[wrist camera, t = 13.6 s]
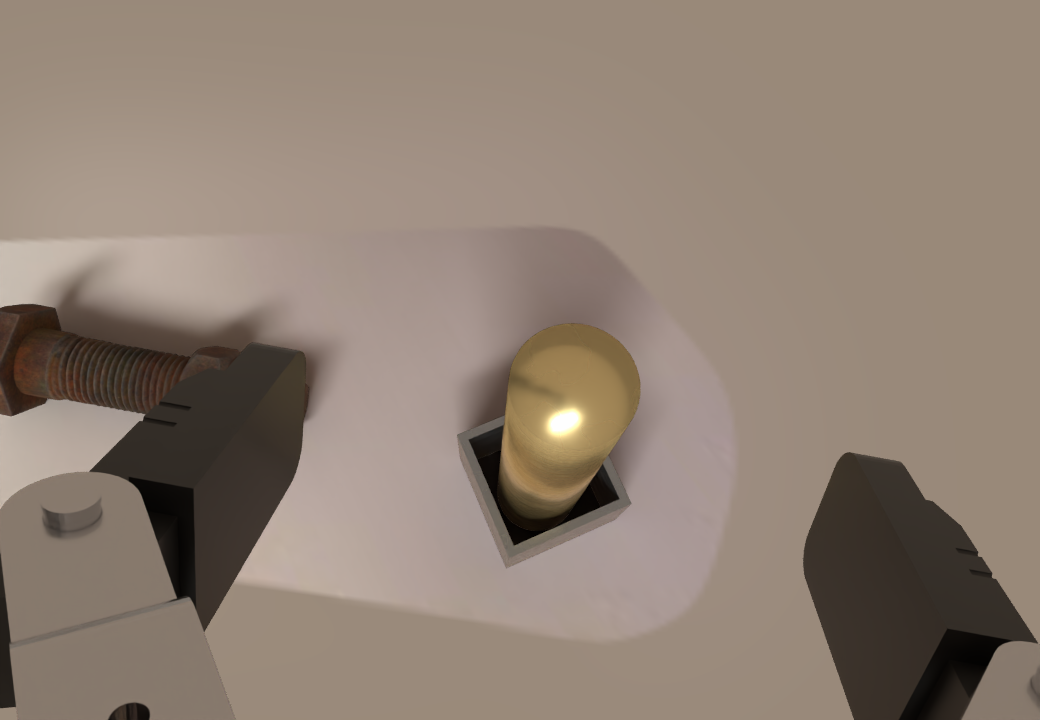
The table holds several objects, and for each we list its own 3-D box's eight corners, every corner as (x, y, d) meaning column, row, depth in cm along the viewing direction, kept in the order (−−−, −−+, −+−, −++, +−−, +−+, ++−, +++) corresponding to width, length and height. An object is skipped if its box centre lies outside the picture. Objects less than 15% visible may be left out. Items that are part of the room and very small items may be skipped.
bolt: (310, 442, 44) (35, 391, 44) (323, 351, 43) (42, 299, 43) (277, 476, 38) (-41, 418, 38) (291, 373, 37) (-34, 312, 37)
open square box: (506, 568, 40) (509, 558, 35) (460, 458, 42) (457, 434, 37) (614, 519, 41) (631, 503, 36) (565, 414, 43) (575, 386, 38)
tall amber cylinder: (516, 543, 41) (541, 470, 24) (484, 470, 42) (487, 351, 25) (588, 511, 41) (663, 418, 24) (555, 441, 42) (605, 305, 25)
